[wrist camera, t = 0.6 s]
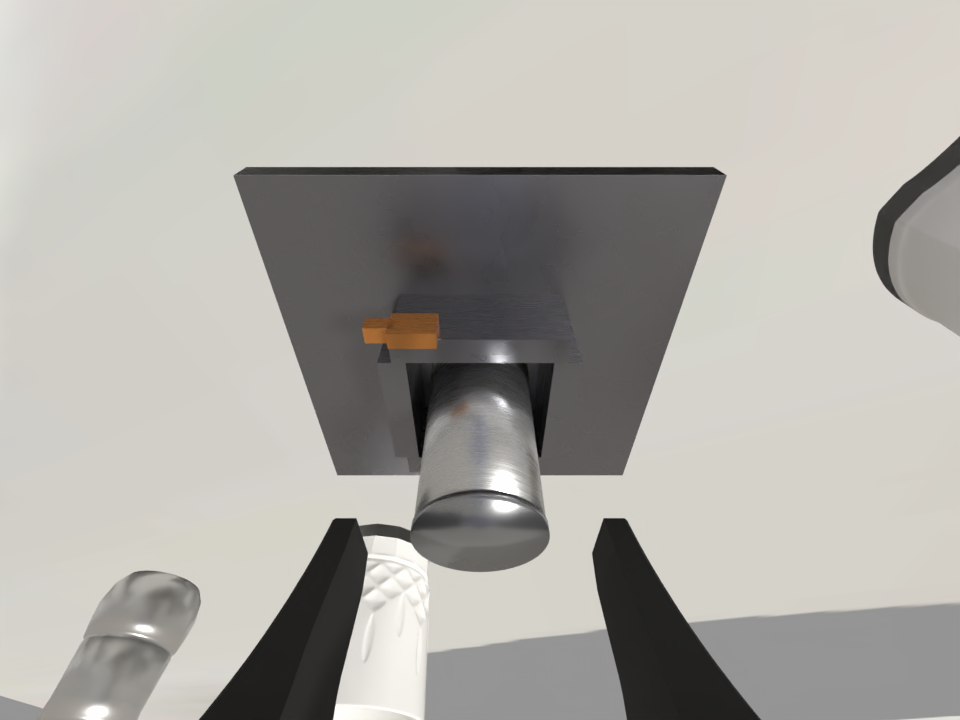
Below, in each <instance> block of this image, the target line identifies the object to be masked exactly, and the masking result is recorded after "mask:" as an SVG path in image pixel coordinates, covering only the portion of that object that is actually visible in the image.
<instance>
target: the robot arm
mask: <svg viewBox="0 0 960 720" xmlns="http://www.w3.org/2000/svg"><path fill="white" fill-rule="evenodd" d="M367 557H368V551H367V548H366V545H365V542H364V539H363V536H362V533H361V530H360V527H359V524H358V521H357V518H335V519H334V520H332V522H331V524H330V526H329V528H328V530H327V532H326V534H325V536H324V538H323V540H322V542H321V543H320V545H319V547H318V549H317V551H316V552H315V554H314V556H313V558H312V559H311V561H310V563H309V565H308V566H307V568H306V570H305V572H304V573H303V575H302V576H301V578H300V580H299V581H298V583H297V585H296V586H295V588H294V589H293V591H292V593H291V594H290V596H289V598H288V599H287V601H286V602H285V604H284V605H283V607H282V608H281V610H280V611H279V613H278V614H277V616H276V617H275V619H274V620H273V622H272V623H271V625H270V626H269V628H268V629H267V631H266V632H265V634H264V635H263V637H262V638H261V639H260V641H259V642H258V644H257V645H256V646H255V648H254V649H253V651H252V652H251V653H250V655H249V656H248V658H247V659H246V660H245V662H244V663H243V664H242V666H241V667H240V668H239V670H238V671H237V672H236V674H235V675H234V676H233V678H232V679H231V680H230V681H229V683H228V684H227V685H226V686H225V688H224V689H223V690H222V691H221V693H220V694H219V695H218V696H217V698H216V699H215V700H214V701H213V703H212V704H211V705H210V706H209V708H208V709H207V710H206V711H205V713H204V714H203V715H202V716H201V717H200V719H199V720H333V717H334V711H335V705H336V699H337V694H338V689H339V685H340V680H341V675H342V671H343V668H344V664H345V660H346V656H347V652H348V648H349V644H350V640H351V636H352V632H353V628H354V624H355V620H356V616H357V612H358V608H359V604H360V600H361V595H362V591H363V585H364V579H365V572H366V565H367ZM592 557H593V565H594V572H595V579H596V585H597V591H598V595H599V600H600V604H601V608H602V612H603V616H604V620H605V624H606V628H607V632H608V636H609V640H610V644H611V648H612V652H613V656H614V660H615V664H616V668H617V671H618V675H619V680H620V685H621V689H622V694H623V699H624V705H625V711H626V717H627V720H761V719H760V718H759V716H758V715H757V714H756V713H755V712H754V711H753V709H752V708H751V707H750V706H749V704H748V703H747V702H746V701H745V699H744V698H743V697H742V696H741V694H740V693H739V692H738V691H737V689H736V688H735V687H734V685H733V684H732V683H731V682H730V680H729V679H728V678H727V676H726V675H725V674H724V672H723V671H722V670H721V669H720V667H719V666H718V665H717V663H716V662H715V661H714V659H713V658H712V656H711V655H710V654H709V652H708V651H707V650H706V648H705V647H704V645H703V644H702V643H701V641H700V640H699V638H698V637H697V635H696V634H695V632H694V631H693V630H692V628H691V627H690V625H689V624H688V622H687V621H686V619H685V618H684V616H683V615H682V613H681V612H680V610H679V609H678V607H677V606H676V604H675V602H674V601H673V599H672V598H671V596H670V594H669V593H668V591H667V590H666V588H665V587H664V585H663V583H662V582H661V580H660V578H659V577H658V575H657V573H656V572H655V570H654V568H653V567H652V565H651V563H650V561H649V560H648V558H647V556H646V554H645V553H644V551H643V549H642V547H641V545H640V544H639V542H638V540H637V538H636V536H635V534H634V532H633V531H632V529H631V527H630V525H629V523H628V521H627V520H626V519H625V518H603V521H602V524H601V527H600V530H599V533H598V536H597V539H596V542H595V545H594V548H593V551H592Z"/></svg>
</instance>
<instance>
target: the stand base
mask: <svg viewBox="0 0 960 720" xmlns="http://www.w3.org/2000/svg"><path fill="white" fill-rule="evenodd" d="M233 176H234V179H235V182H236V185H237V188H238V191H239V194H240V197H241V200H242V202H243V205H244V208H245V211H246V214H247V217H248V220H249V223H250V225H251V228H252V231H253V234H254V237H255V240H256V243H257V246H258V248H259V251H260V254H261V257H262V260H263V263H264V266H265V269H266V271H267V274H268V277H269V280H270V283H271V286H272V289H273V292H274V294H275V297H276V300H277V303H278V306H279V309H280V312H281V315H282V318H283V320H284V323H285V326H286V329H287V332H288V335H289V338H290V341H291V343H292V346H293V349H294V352H295V355H296V358H297V361H298V364H299V366H300V369H301V372H302V375H303V378H304V381H305V384H306V387H307V389H308V392H309V395H310V398H311V401H312V404H313V407H314V410H315V412H316V415H317V418H318V421H319V424H320V427H321V430H322V433H323V435H324V438H325V441H326V444H327V447H328V450H329V453H330V456H331V459H332V461H333V464H334V467H335V470H336V473H337V475H420V469H421V462H422V454H423V447H424V439H425V431H426V424H427V416H428V409H429V401H430V394H431V371H432V364H433V363H527V364H528V371H529V394H530V401H531V409H532V416H533V424H534V431H535V439H536V447H537V454H538V462H539V469H540V475H623V473H624V470H625V467H626V464H627V461H628V459H629V456H630V453H631V450H632V447H633V444H634V441H635V438H636V435H637V433H638V430H639V427H640V424H641V421H642V418H643V415H644V412H645V410H646V407H647V404H648V401H649V398H650V395H651V392H652V389H653V387H654V384H655V381H656V378H657V375H658V372H659V369H660V366H661V364H662V361H663V358H664V355H665V352H666V349H667V346H668V343H669V341H670V338H671V335H672V332H673V329H674V326H675V323H676V320H677V317H678V315H679V312H680V309H681V306H682V303H683V300H684V297H685V294H686V292H687V289H688V286H689V283H690V280H691V277H692V274H693V271H694V269H695V266H696V263H697V260H698V257H699V254H700V251H701V248H702V246H703V243H704V240H705V237H706V234H707V231H708V228H709V225H710V223H711V220H712V217H713V214H714V211H715V208H716V205H717V202H718V199H719V197H720V194H721V191H722V188H723V185H724V182H725V179H726V176H727V175H725V174H724V173H722V172H721V171H719V170H718V169H716V168H714V167H246V168H244V169H242V170H241V171H239V172H238V173H236V174H235V175H233Z"/></svg>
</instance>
